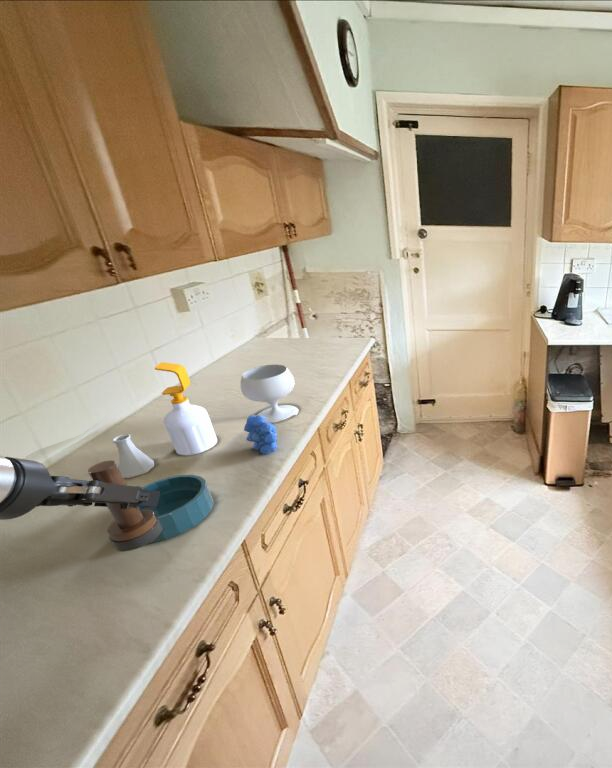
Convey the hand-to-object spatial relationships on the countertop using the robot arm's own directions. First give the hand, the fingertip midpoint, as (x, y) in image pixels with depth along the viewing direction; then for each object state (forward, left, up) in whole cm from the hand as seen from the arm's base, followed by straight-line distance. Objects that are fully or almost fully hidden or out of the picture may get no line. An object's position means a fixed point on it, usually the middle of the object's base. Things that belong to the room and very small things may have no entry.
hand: (144, 499), depth 70 cm
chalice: (-5, +53, -13) cm, 55 cm away
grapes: (+2, +33, -13) cm, 36 cm away
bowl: (-6, +9, -13) cm, 17 cm away
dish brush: (0, -4, -5) cm, 6 cm away
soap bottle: (-18, +36, -13) cm, 43 cm away
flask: (-26, +26, -13) cm, 39 cm away
